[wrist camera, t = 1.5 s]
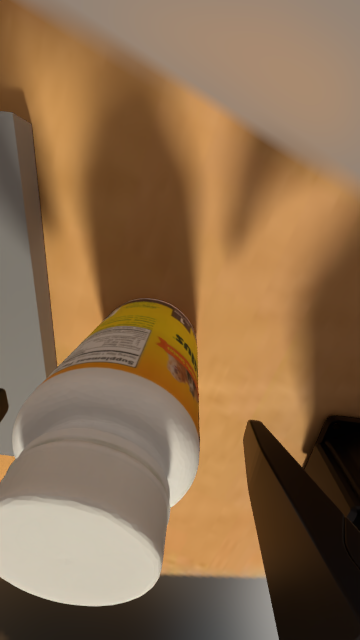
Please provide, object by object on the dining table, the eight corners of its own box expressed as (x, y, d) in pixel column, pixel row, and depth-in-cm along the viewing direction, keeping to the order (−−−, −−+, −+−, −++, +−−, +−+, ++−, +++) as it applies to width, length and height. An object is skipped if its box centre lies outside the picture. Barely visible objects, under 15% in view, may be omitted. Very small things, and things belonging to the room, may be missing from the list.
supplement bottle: (198, 378, 15) (204, 635, 6) (112, 378, 16) (-17, 618, 6) (196, 292, 13) (201, 469, 4) (98, 295, 13) (-133, 460, 4)
